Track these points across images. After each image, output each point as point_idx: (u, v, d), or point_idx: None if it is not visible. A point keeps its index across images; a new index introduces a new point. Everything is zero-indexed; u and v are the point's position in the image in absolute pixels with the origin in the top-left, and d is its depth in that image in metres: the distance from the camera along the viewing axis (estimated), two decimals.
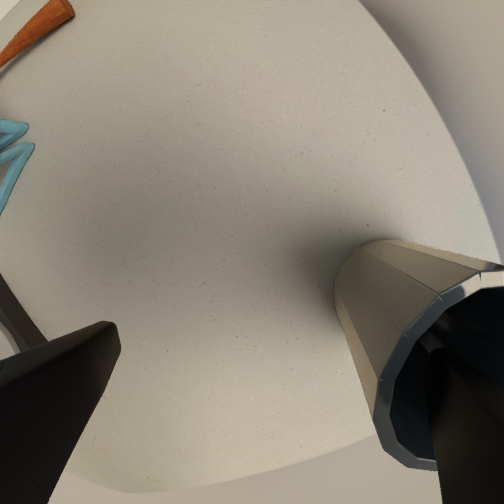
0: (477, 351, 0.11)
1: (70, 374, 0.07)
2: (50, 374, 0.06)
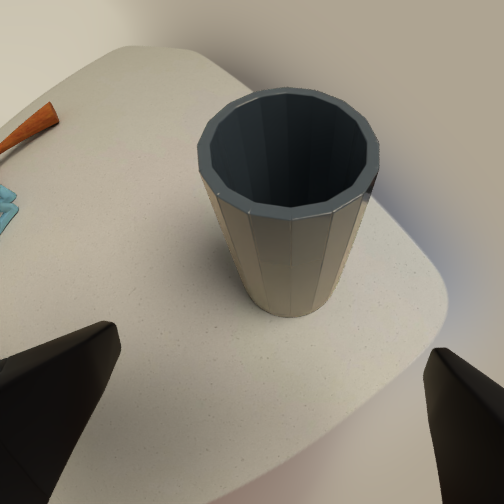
0: None
1: (70, 374, 0.07)
2: (50, 374, 0.06)
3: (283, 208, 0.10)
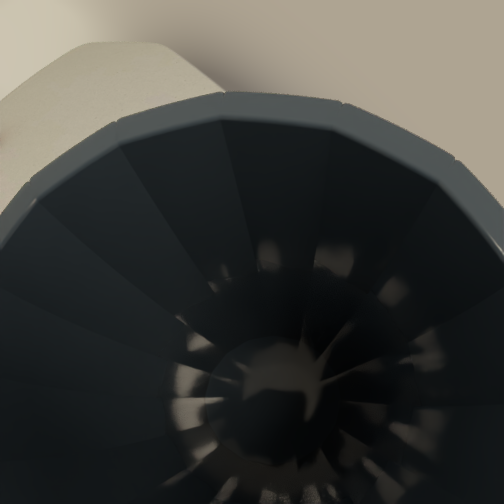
0: (388, 430, 0.06)
1: None
2: None
3: None
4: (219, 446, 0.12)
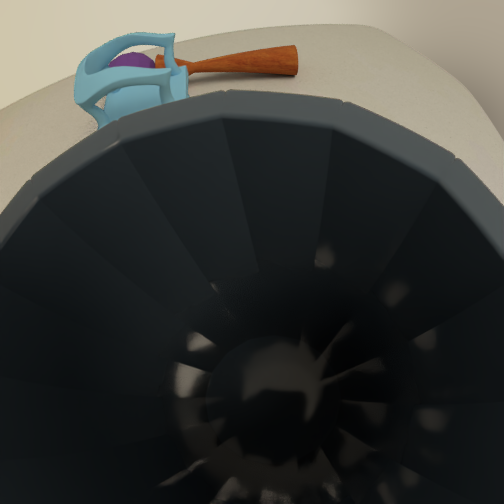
0: (389, 429, 0.06)
1: None
2: None
3: None
4: (220, 445, 0.12)
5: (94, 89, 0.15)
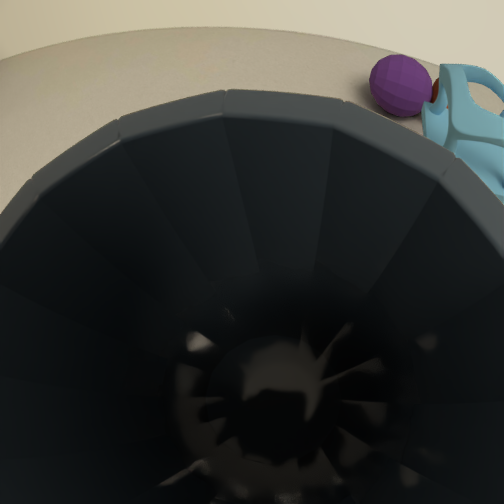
0: (389, 429, 0.06)
1: None
2: None
3: None
4: (220, 445, 0.12)
5: (485, 131, 0.11)
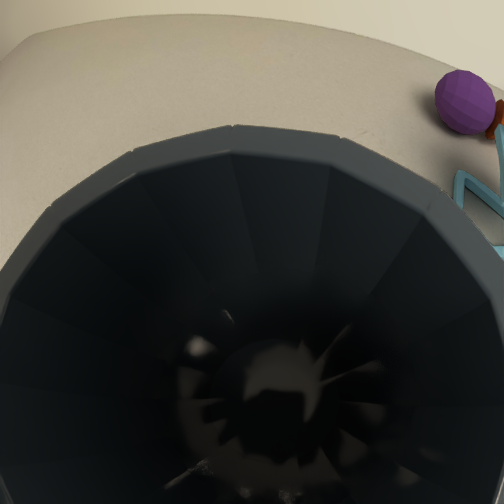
0: (383, 428, 0.06)
1: None
2: None
3: None
4: (223, 445, 0.12)
5: None
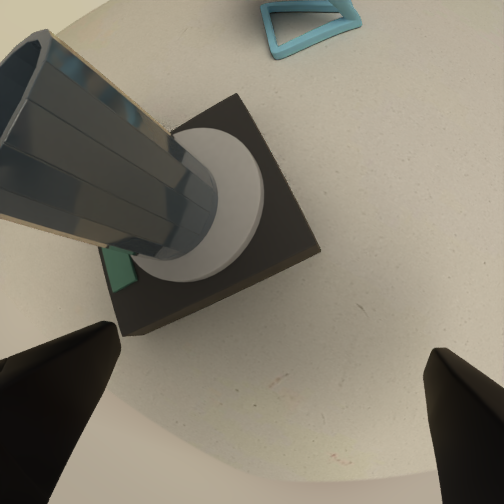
0: None
1: (70, 374, 0.07)
2: (50, 374, 0.06)
3: None
4: None
5: None
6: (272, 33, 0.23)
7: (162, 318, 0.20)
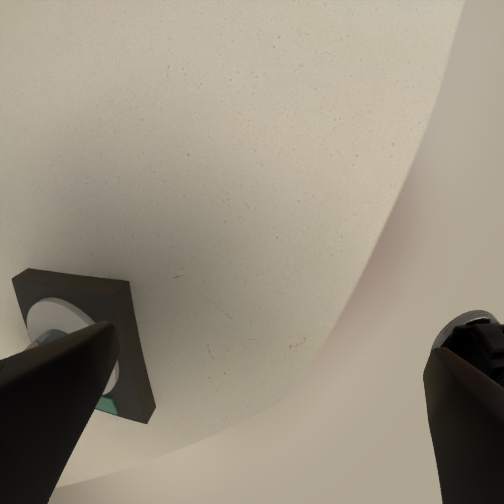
0: None
1: (70, 374, 0.07)
2: (50, 374, 0.06)
3: None
4: None
5: None
6: None
7: (139, 398, 0.25)
